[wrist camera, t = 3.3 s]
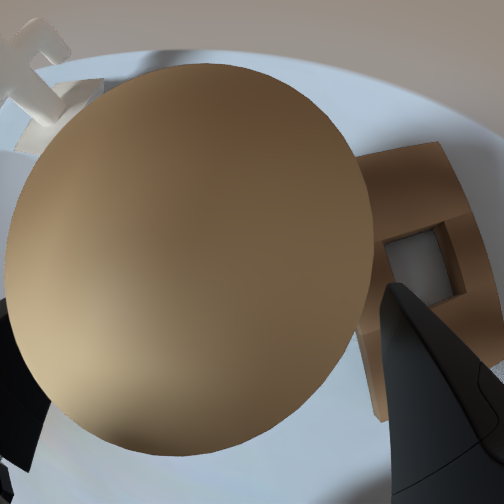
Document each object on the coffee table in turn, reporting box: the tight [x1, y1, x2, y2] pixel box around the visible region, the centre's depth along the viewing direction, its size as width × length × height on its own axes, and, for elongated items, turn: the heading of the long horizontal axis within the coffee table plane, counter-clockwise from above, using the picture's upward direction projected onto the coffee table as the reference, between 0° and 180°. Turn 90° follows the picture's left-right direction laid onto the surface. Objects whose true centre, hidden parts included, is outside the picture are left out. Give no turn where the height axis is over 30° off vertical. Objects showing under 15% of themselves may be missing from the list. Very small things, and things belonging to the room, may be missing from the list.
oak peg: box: [4, 63, 374, 456], centre depth 9 cm, size 5×5×13 cm
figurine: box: [0, 18, 104, 155], centre depth 13 cm, size 7×9×15 cm
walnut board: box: [355, 142, 504, 423], centre depth 14 cm, size 14×9×2 cm, turn 14°
